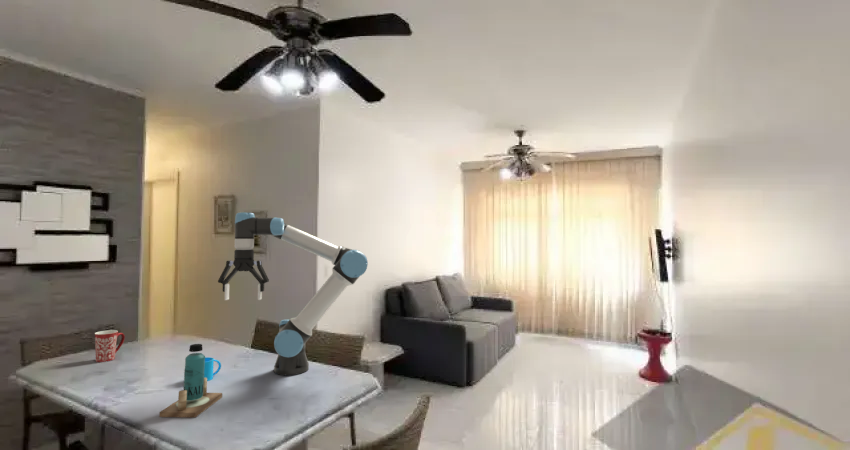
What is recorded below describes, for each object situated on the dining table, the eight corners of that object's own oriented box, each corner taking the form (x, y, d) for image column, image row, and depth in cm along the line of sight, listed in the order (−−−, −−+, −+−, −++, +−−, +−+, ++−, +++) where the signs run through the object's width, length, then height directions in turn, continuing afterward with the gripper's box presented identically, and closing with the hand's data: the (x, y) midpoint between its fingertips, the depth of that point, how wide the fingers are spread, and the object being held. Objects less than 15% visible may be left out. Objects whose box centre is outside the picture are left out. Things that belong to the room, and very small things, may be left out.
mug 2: (196, 384, 168) (197, 363, 168) (187, 380, 172) (188, 360, 173) (225, 376, 177) (226, 357, 178) (215, 373, 182) (216, 354, 183)
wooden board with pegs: (222, 397, 154) (223, 376, 154) (195, 417, 136) (196, 394, 136) (190, 396, 154) (191, 376, 154) (159, 416, 136) (160, 393, 136)
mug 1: (99, 363, 192) (101, 334, 193) (89, 361, 196) (90, 332, 197) (128, 357, 204) (130, 329, 204) (118, 354, 208) (119, 328, 208)
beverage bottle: (187, 398, 148) (190, 342, 149) (206, 398, 149) (209, 342, 150) (178, 405, 142) (181, 346, 143) (198, 405, 142) (201, 346, 143)
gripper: (277, 248, 177) (276, 298, 176) (218, 249, 176) (217, 298, 175) (271, 249, 170) (270, 300, 169) (209, 249, 169) (208, 301, 168)
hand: (243, 299), depth 172 cm, fingers open, 13 cm apart
